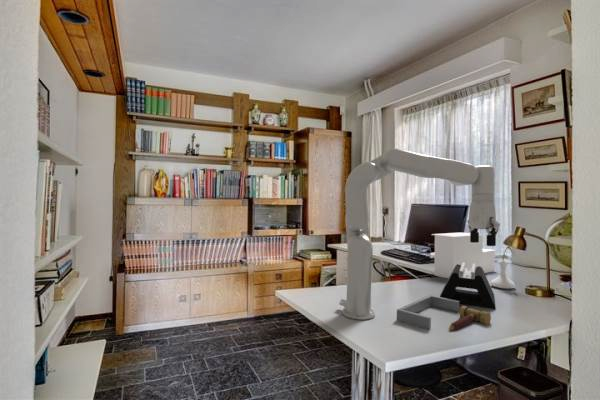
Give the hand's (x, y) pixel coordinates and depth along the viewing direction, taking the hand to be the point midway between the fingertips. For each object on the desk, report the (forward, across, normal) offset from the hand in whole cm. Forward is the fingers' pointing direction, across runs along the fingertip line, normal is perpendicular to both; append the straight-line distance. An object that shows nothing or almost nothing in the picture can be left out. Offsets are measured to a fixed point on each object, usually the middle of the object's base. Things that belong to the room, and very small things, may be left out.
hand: (482, 244), depth 130 cm
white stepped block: (+30, -82, +43) cm, 97 cm away
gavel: (+30, +2, -9) cm, 31 cm away
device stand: (+30, -29, +12) cm, 43 cm away
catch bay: (+29, -8, -17) cm, 35 cm away
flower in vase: (+30, -47, +44) cm, 71 cm away
